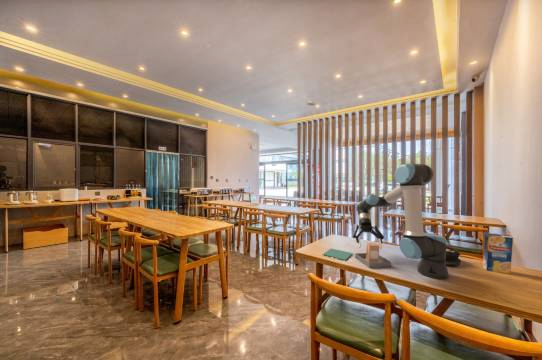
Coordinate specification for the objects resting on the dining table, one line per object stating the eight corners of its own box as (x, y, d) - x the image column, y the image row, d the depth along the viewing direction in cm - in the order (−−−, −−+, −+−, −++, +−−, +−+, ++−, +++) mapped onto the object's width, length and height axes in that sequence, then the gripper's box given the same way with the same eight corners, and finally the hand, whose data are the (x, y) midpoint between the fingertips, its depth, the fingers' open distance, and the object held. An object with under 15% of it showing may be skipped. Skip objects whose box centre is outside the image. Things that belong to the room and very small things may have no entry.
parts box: (375, 260, 156) (376, 242, 156) (378, 264, 150) (379, 245, 150) (366, 260, 157) (366, 242, 156) (368, 263, 151) (369, 245, 150)
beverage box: (510, 274, 139) (513, 237, 139) (486, 270, 144) (488, 235, 144) (505, 270, 145) (508, 235, 145) (482, 266, 151) (484, 232, 150)
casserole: (423, 252, 175) (424, 241, 174) (453, 256, 168) (454, 244, 168) (432, 264, 152) (433, 252, 151) (468, 269, 145) (469, 256, 144)
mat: (352, 254, 167) (352, 253, 167) (345, 260, 154) (345, 259, 154) (331, 249, 177) (331, 248, 177) (322, 255, 164) (322, 254, 164)
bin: (390, 266, 146) (391, 262, 146) (369, 267, 144) (369, 263, 144) (374, 257, 163) (375, 252, 163) (355, 257, 161) (355, 253, 160)
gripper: (381, 224, 172) (388, 251, 157) (346, 222, 174) (350, 249, 160) (384, 218, 166) (392, 246, 152) (348, 216, 169) (352, 243, 155)
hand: (370, 247), depth 156 cm, fingers open, 13 cm apart
